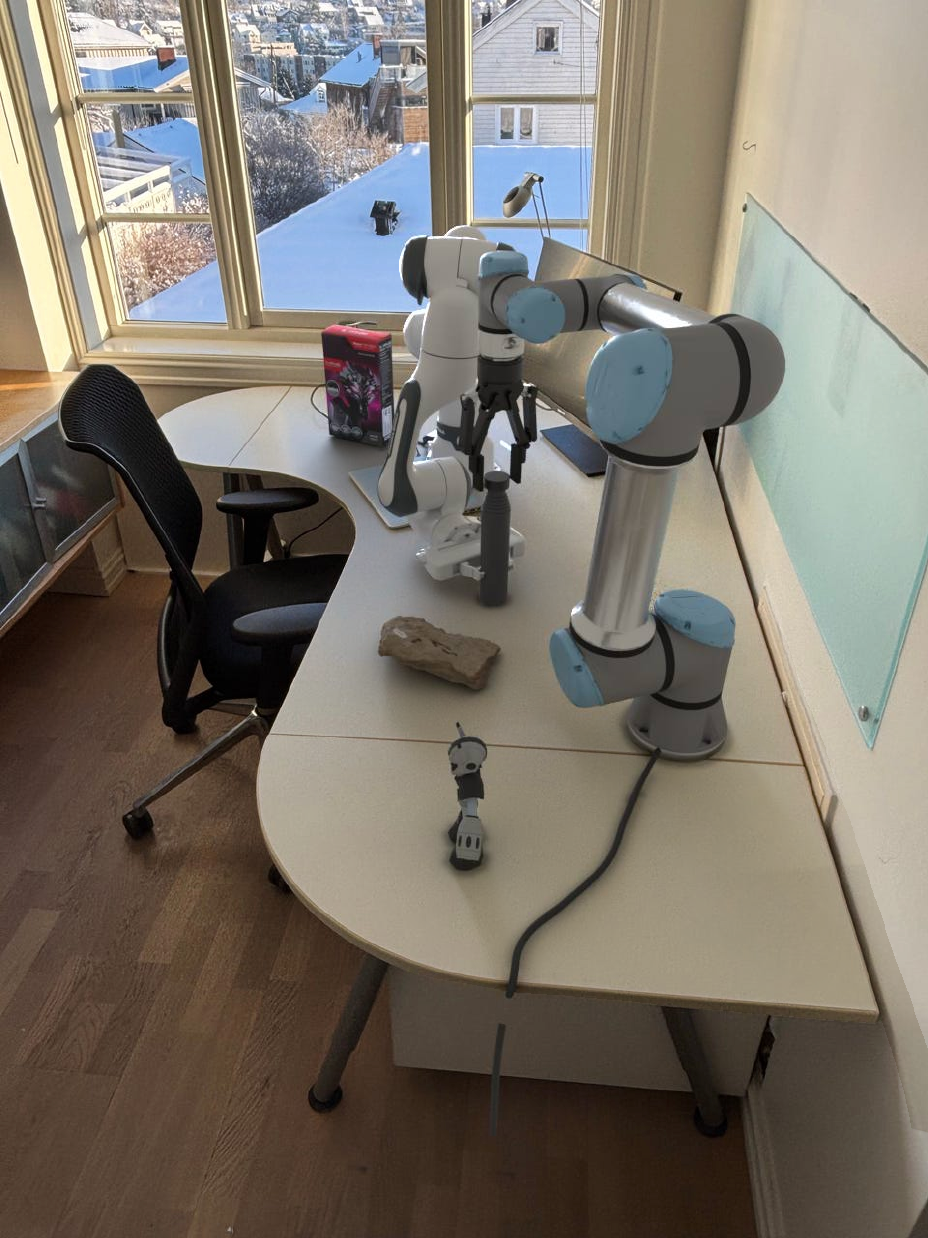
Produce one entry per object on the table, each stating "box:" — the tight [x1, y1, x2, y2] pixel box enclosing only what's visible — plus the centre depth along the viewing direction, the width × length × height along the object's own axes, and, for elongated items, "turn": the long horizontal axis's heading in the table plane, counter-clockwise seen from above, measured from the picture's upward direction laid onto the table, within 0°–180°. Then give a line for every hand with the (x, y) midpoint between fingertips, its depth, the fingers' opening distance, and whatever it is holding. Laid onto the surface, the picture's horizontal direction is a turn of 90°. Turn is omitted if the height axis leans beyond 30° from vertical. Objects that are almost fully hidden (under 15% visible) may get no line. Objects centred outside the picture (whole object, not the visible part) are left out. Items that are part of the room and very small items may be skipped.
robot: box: [447, 721, 488, 871], centre depth 117 cm, size 20×5×20 cm, turn 3°
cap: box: [484, 470, 511, 492], centre depth 161 cm, size 4×4×2 cm
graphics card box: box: [320, 324, 395, 448], centre depth 230 cm, size 17×7×27 cm, turn 62°
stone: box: [377, 615, 502, 691], centre depth 155 cm, size 21×15×6 cm
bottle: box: [479, 489, 512, 608], centre depth 167 cm, size 5×5×25 cm
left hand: (497, 571), depth 170 cm, fingers closed on bottle, 5 cm apart
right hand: (496, 484), depth 161 cm, fingers open, 7 cm apart
